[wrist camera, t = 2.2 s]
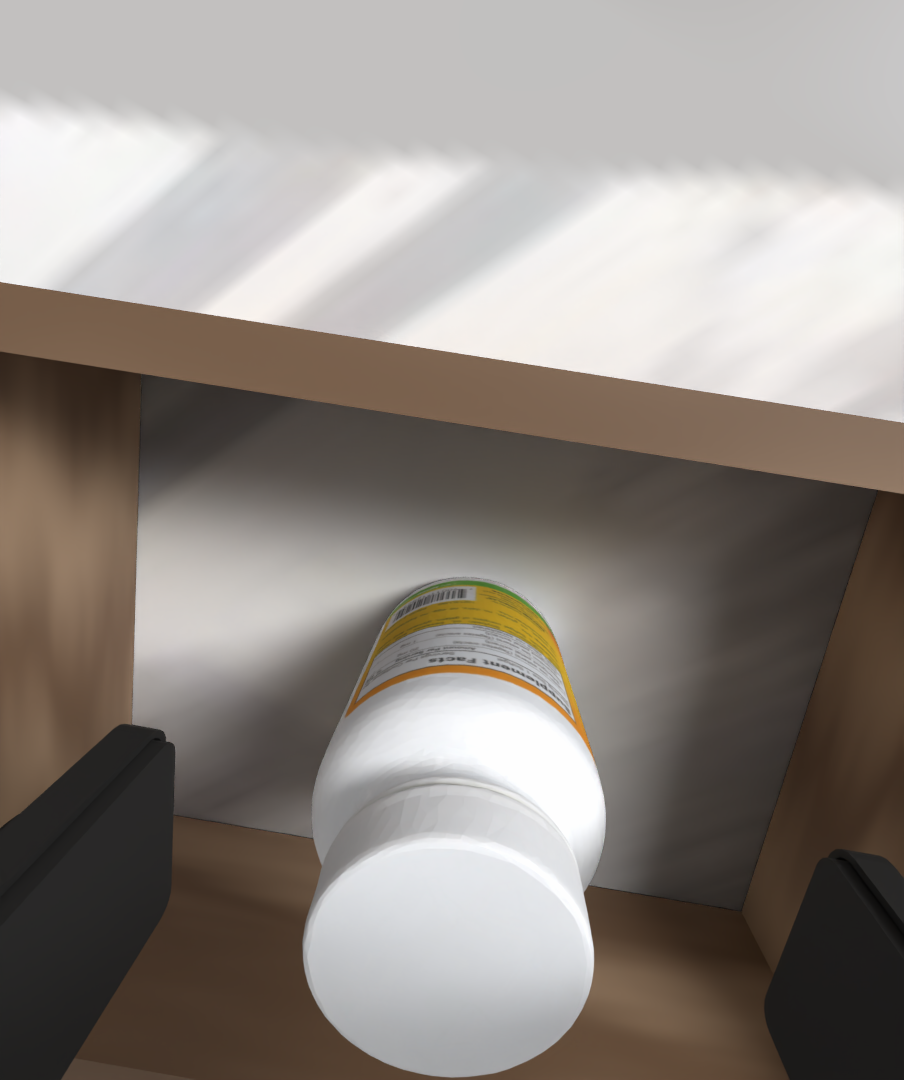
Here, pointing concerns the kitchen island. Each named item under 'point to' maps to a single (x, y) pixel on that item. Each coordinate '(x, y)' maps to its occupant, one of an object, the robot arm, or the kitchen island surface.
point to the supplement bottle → (456, 840)
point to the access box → (291, 861)
